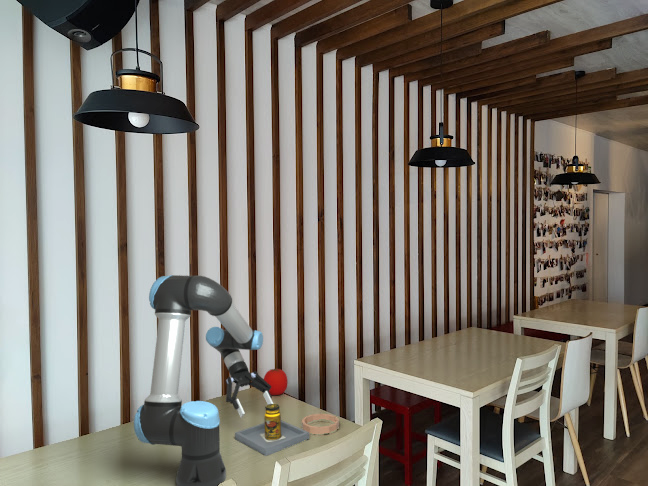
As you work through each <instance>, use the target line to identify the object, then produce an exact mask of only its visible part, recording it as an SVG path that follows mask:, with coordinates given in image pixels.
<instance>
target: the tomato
mask: <svg viewBox="0 0 648 486" xmlns="http://www.w3.org/2000/svg"><path fill="white" fill-rule="evenodd" d="M263 379H264V380H265V381H266V382H267V383H268V384H269V385H270V386H271V389H270V390H269V392H270V395H271V396H279V395H282V394H284V393H285V391H286V390H287V388H288V376H287V373H286V372H285V371H284V370H283V369H280V368H272V369H268V371H266V373H265V374H264V376H263Z"/></svg>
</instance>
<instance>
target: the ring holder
mask: <svg viewBox="0 0 648 486" xmlns="http://www.w3.org/2000/svg"><path fill="white" fill-rule="evenodd" d="M319 419H326V420H331V421H333V422H335V423H334V424H329V425H325V426H315V425H311V424H307V423H308V422H311V421H313V420H319ZM338 427H339V428H340V419H339V418H338V417H337V416H336V415H334V414H331V413H314V414H310V415H307V416H305V417H303V418H302V420H301V429H302V428H303V430H305V431H307V432H309V433H312V434H324V433H330V432H331V431H334V430H336V429H337V428H338Z"/></svg>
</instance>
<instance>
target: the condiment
mask: <svg viewBox="0 0 648 486" xmlns="http://www.w3.org/2000/svg"><path fill="white" fill-rule="evenodd" d="M264 409H265V411H264V419H263V420H264V423H265V433H264V434H259V435H261V436H262V437H263V439H264V440H265V441H266V442H272V441H277V440H281V439H284V438H285V437H284V436H283V435H282V434H281V420H282V419H281V417H282V414H281V411H280V405H279V404H278V403H273V404H269V405H268V404H267V405H265V408H264Z"/></svg>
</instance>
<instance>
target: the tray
mask: <svg viewBox="0 0 648 486" xmlns="http://www.w3.org/2000/svg"><path fill="white" fill-rule="evenodd" d="M264 433H265V422H263V423H262V422H261V423H259V424H256V425H253V426H250V427H247V428H245V429H241V430H238V431H235V432H234V439H235V440H236V441H238V442H239V443H240V444H243V445H245V446H247V448H248V447H249V448H250V449H252V450H254V451H256V452H257V451H258V452H257V453H259V452H260V453H259V454H261V455H263V456H265V457H267V455H268V456H271V455H273V454H275V453H278V452H280V451H282V449H283V450H285V449H287V447H288V448H290V446H291V447H293V446H295V444H296V445H297V443H298V444H300V443H299V442H301V443H303V442H305V441H304V440H306V441H308V440H307V439H309V438H310V434H309V432H307V431H305V430H303V429H302V428H300V427H298V426H295V425H294V424H291V423H288V422H286V421H284V420H282V419H281V434H282V435H283V436H284V437H285V438H284V439H281V440H277V441H272V442H266V441H265V440H264V439H263V437H262V436H261V435H259V434H264ZM309 440H310V439H309ZM302 441H303V442H302ZM292 445H293V446H292ZM284 448H285V449H284Z"/></svg>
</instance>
